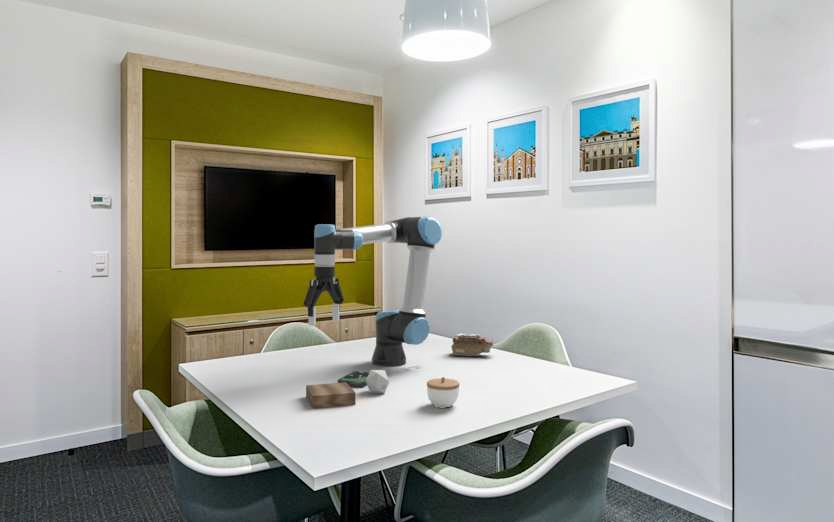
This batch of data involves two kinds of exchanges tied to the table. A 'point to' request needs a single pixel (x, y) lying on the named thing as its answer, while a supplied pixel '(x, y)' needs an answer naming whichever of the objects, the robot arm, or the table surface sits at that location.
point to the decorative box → (470, 344)
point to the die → (377, 381)
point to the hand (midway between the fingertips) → (324, 323)
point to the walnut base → (330, 395)
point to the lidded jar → (442, 391)
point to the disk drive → (355, 379)
